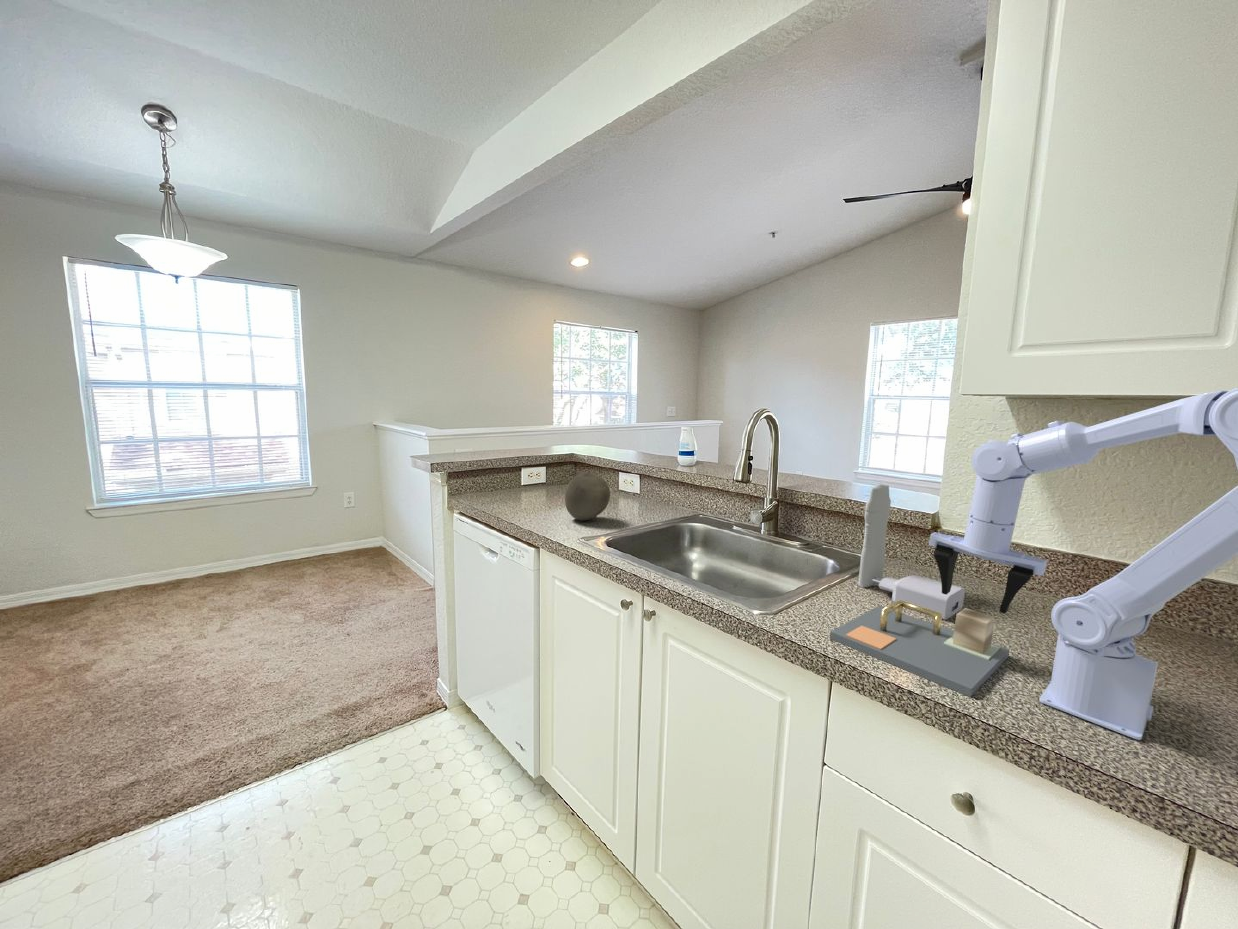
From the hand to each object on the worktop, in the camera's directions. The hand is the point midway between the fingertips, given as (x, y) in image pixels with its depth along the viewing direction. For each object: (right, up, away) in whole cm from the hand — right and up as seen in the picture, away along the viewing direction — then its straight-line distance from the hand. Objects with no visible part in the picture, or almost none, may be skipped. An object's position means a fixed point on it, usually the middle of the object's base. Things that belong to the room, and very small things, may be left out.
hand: (973, 601), depth 77 cm
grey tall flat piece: (-1, -5, +31) cm, 31 cm away
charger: (+3, -6, +21) cm, 22 cm away
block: (0, -7, +1) cm, 7 cm away
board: (-8, -8, +2) cm, 11 cm away
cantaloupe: (-66, +4, +79) cm, 103 cm away
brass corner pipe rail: (-7, -7, +5) cm, 11 cm away
